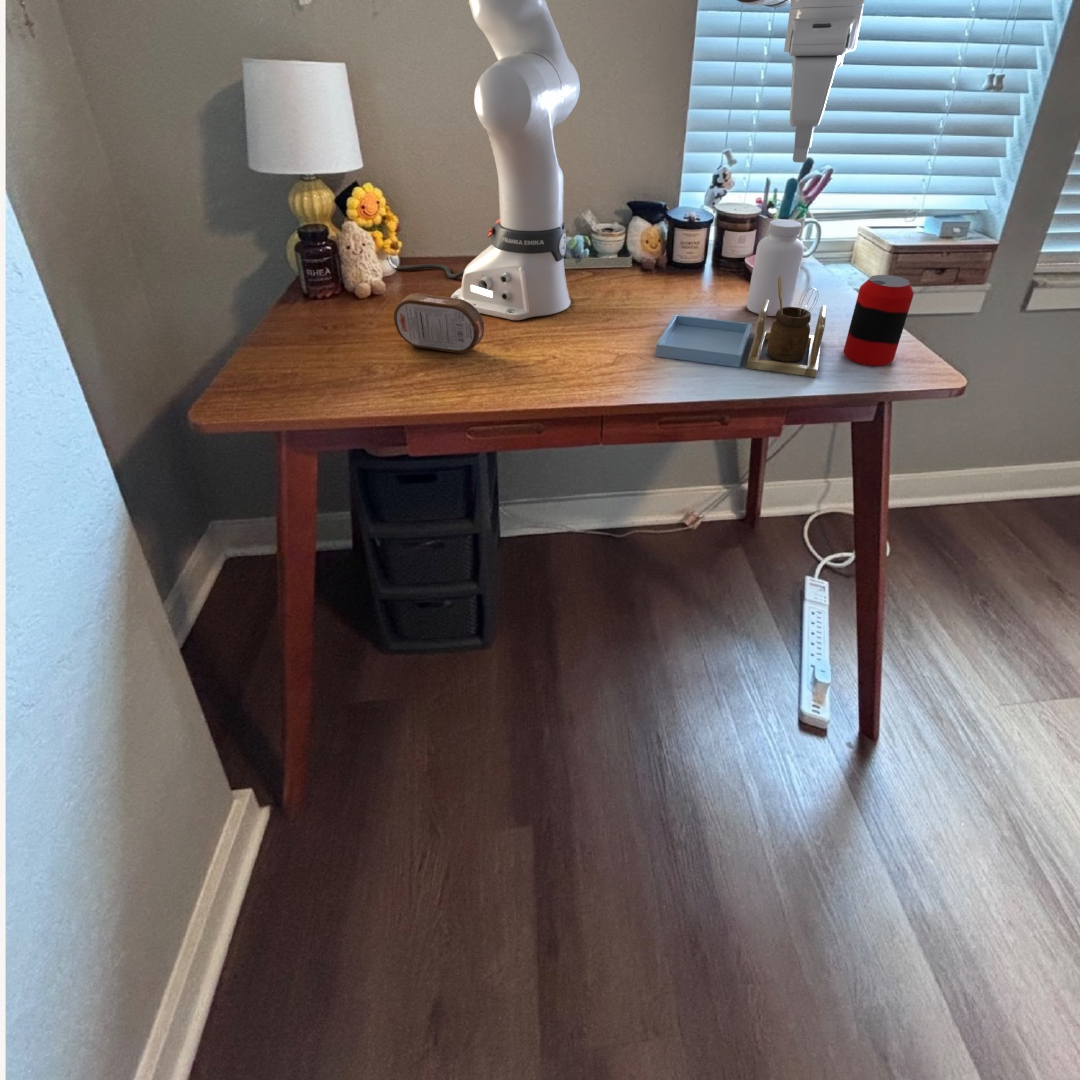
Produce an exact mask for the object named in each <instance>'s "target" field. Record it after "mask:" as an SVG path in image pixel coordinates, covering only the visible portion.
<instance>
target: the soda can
mask: <svg viewBox="0 0 1080 1080" xmlns="http://www.w3.org/2000/svg"><path fill="white" fill-rule="evenodd" d="M914 294H915V292H914V290H913V287H912V285H911V282H910V280H909V279H907V278H905V277H901V276H897V275H890V274H875V275H872V276H870V277H868V279H866V281H864V282H863V283H862V284H861V285H860V287H859V289H858V294H857V297H856V301H855V305H854V308H853V309H854V310H853V312H852V316H851V321H850V323H849V324H850V325H849V327H848V328H849V329H848V332H847V336H846V340H845V343H844V347H843V351H842V352H843V355H844V357H845V358H846V359H847V360H849V361H850V362H852V363H854V364H858V365H861V366H868V367H884V366H886V365H889V364H891V363H892V362H893V361H894V359H895V356H896V353H897V350H898V346H899V344H900V340H901V337H902V333H903V331H904V327H905V324H906V320H907V317H908V315H909V311H910V308H911V305H912V301H913V298H914V296H915V295H914Z"/></svg>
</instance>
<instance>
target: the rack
mask: <svg viewBox="0 0 1080 1080" xmlns="http://www.w3.org/2000/svg"><path fill="white" fill-rule="evenodd" d="M768 306H769V300H768V299H765V300H764V302H763V305H762V308H761V311H760V314H758V317H757V321H756V326H755V332H754V337H753V341H752V343H751V347H750V350H749V354H748V356H747V361H746V365H745V368H746V369H751V370H758V371H766V372H773V373H782V374H789V375H797V376H804V377H812V378H817V374H818V369H819V361H820V353H821V347H822V340H823V336H824V332H825V328H826V319H827V318H826V317H827V310H828V307H827V305H824V304H823V305H821V307H820V310H819V314H818V318H817V321H816V326H815V330H814V335H812V334H809V339H808V343H807V346H808V345H809V346H808V347H809V348H808V352H807V359H806V365H805V364H797V363H791V362H784V361H774V360H767V359H760V357H761V354H762V350H763V347H764V343H765V340H767V341H768V340H769V335H770V331H771V329H765V327H766V322H767V317H768V316H767V312H768Z"/></svg>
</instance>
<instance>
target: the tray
mask: <svg viewBox="0 0 1080 1080" xmlns="http://www.w3.org/2000/svg"><path fill="white" fill-rule="evenodd" d="M752 324H753V323H751V322H743V321H733V320H727V319H719V318H718V319H717V318H709V317H702V316H701V317H700V316H691V315H684V314H682V315H681V314H673V315H672V317H671V319H670V320H669V322H668V324H667V325H666V327H665V329H664V331H663V333H662V334H661V336H660V337H659V340H658V341H657V343H656V345H655V355H654V356H655V357H658V358H665V359H673V360H681V361H688V362H694V363H695V362H697V363H703V364H712V365H719V366H726V367H734V368H740V366H741V362H742V360H743V357H744V354H745V350H746V348H747V345H748V341H749V338H750V335H751V330H752Z"/></svg>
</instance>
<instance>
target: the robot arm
mask: <svg viewBox="0 0 1080 1080" xmlns="http://www.w3.org/2000/svg"><path fill="white" fill-rule="evenodd" d="M736 2H739V3H741V4H743V5H747V6H758V7H759V6H764V7H767V8H773V9H776V8H777V9H778V8H783V7H786V6H789V14H788V20H787V27H786V34H785V40H784V48H783V51H784V52H785V53H788V54H789V56H790V57H792V62H791V68H792V71H791V74H792V75H791V85H790V102H789V125H790V127H793V128H795V134H794V146H793V147H794V148H793V155H792V161H793V162H794V163H800V164H802V163H805V162H806V161H807V159H808V154H809V150H811V147H812V142H813V137H814V131H815V129H816V127H818V126H819V125H820V123H821V122H822V121H821V120H822V117H823V115H824V111H825V109H826V104H827V100H828V97H829V94H830V91H831V86H832V84H833V80H834V77H835V73H836V70H837V68H841V67H842V66H843V63H844V57H845V54H847V53H849V52H854V51H855V50H857V49H856V48H857V43H858V37H859V33H860V29H861V28H860V27H861V22H862V17H863V12H864V7H865V0H736ZM468 5H469V7H470V11H471V16H472V18H473V20H474V22H475V24H476V26H477V27H478V28H479V29H480V30H481V31H482V33H483V34H484V36H485V38H486V39H487V42H488V43H489V45H490V47H491V48H492V51H493V53H494V55H495V58H496V59H497V61H495V62H494V63H492V64H491V65H490V66H488V68H486V70H485V71H484V72H483V73H482V74H481V75H480V76H479V78H478V80H477V82H476V86H475V89H474V97H473V103H474V110H475V113H476V116H477V118H478V121H479V122H480V124H481V125H482V127H483V128H484V129H485V130H486V133H487V136H488V139H489V142H490V146H491V150H492V154H493V158H494V162H495V168H496V173H497V182H498V202H499V203H498V205H499V219H498V220H496V222H495V224H493V225H492V226H491V227H490V229H488V230H487V231H486V232H487V233H488V234H487V238H491V244H490V245H489V246H487V247H486V248H485V249H484V250H482V251H481V252H480V253H479V254H478V255H477V256H476V257H475V258H473V259H472V260H471V261H470V262H469V263H468V264H467V265H466V266H465V268H464V269H463V270H461V271H459V272H456V273H452V272H451V269H450V268H449V266H447V265H445V264H441V263H424V264H423V263H422V264H414V265H413V264H412V265H399V264H398V265H399V266H397V268H395V269H394V270H398V271H413V270H415V271H416V270H424V269H440V270H444V271H445V273H446V276H447V278H449V279H452V280H453V279H454V280H455V279H459V278H461V277H462V279H461V287H459V288H458V289H456V290H455V291H454V292H453V293H452V294H451V296H450V298H457V299H462V300H465V301H467V302H469V303H470V304H472V305H473V306H474V307H475V308H476V309H477V310H478V312H479V313H480V314H483V315H488V316H492V317H496V318H497V317H498V318H502V319H506V320H511V321H521V320H525V319H529V318H534V317H543V316H549V315H553V314H557V313H561V312H562V311H565V310H567V309H568V308H569V307H570V306H571V304H572V301H571V298H570V294H569V290H568V285H567V279H566V272H565V271H566V269H565V259H564V258H565V257H566V249H567V234H566V223H565V221H564V179H565V177H564V172H563V170H562V168H561V166H560V165H559V161H558V156H557V152H556V146H555V140H554V127H557V126H559V125H560V124H562V123H563V122H565V120H566V119H567V118H568V117H569V116H570V114H571V113H572V112H573V110H574V109H575V107H576V106H577V103H578V101H579V97H580V93H581V92H580V91H581V84H580V78H579V77H580V76H579V74H578V72H577V69H576V67H575V66H574V64H573V63H572V62H571V61H570V58H569V57H568V55H567V53H566V49H565V47H564V45H563V42H562V39H561V37H560V34H559V31H558V29H557V26H556V24H555V22H554V19H553V17H552V14H551V12H550V9H549V6H548V3H547V0H468Z"/></svg>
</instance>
